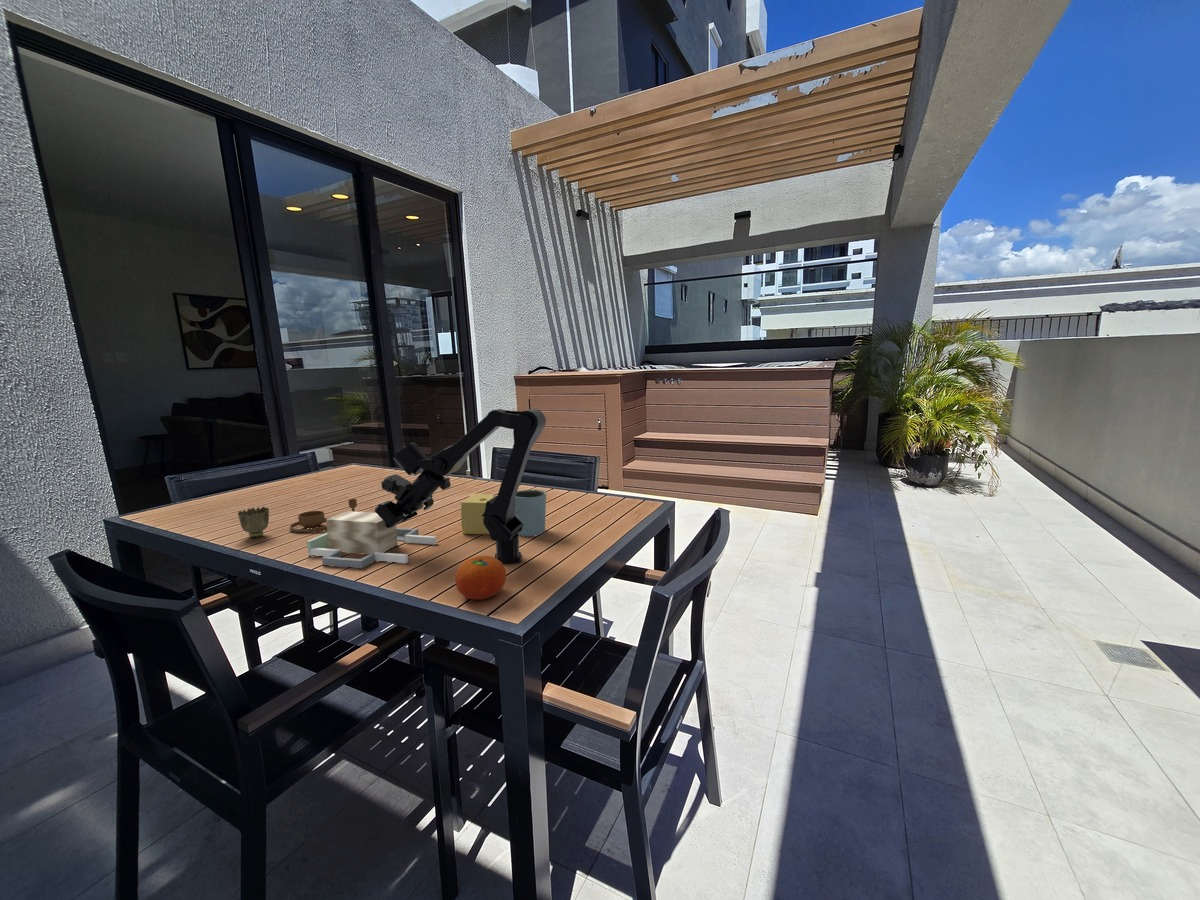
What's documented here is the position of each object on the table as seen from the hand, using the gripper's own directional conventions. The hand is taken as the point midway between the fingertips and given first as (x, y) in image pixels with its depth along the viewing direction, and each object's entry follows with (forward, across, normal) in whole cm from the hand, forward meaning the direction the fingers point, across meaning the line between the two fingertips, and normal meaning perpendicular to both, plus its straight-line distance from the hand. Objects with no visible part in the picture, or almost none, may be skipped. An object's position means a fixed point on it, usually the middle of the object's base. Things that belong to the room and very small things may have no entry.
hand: (387, 526), depth 130 cm
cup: (+37, -3, -27) cm, 46 cm away
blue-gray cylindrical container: (-18, -22, +28) cm, 39 cm away
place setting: (+29, -17, -18) cm, 38 cm away
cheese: (-7, -22, +17) cm, 29 cm away
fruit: (-20, +20, +30) cm, 42 cm away
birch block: (+10, 0, -1) cm, 10 cm away
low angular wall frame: (+7, 0, +2) cm, 7 cm away
